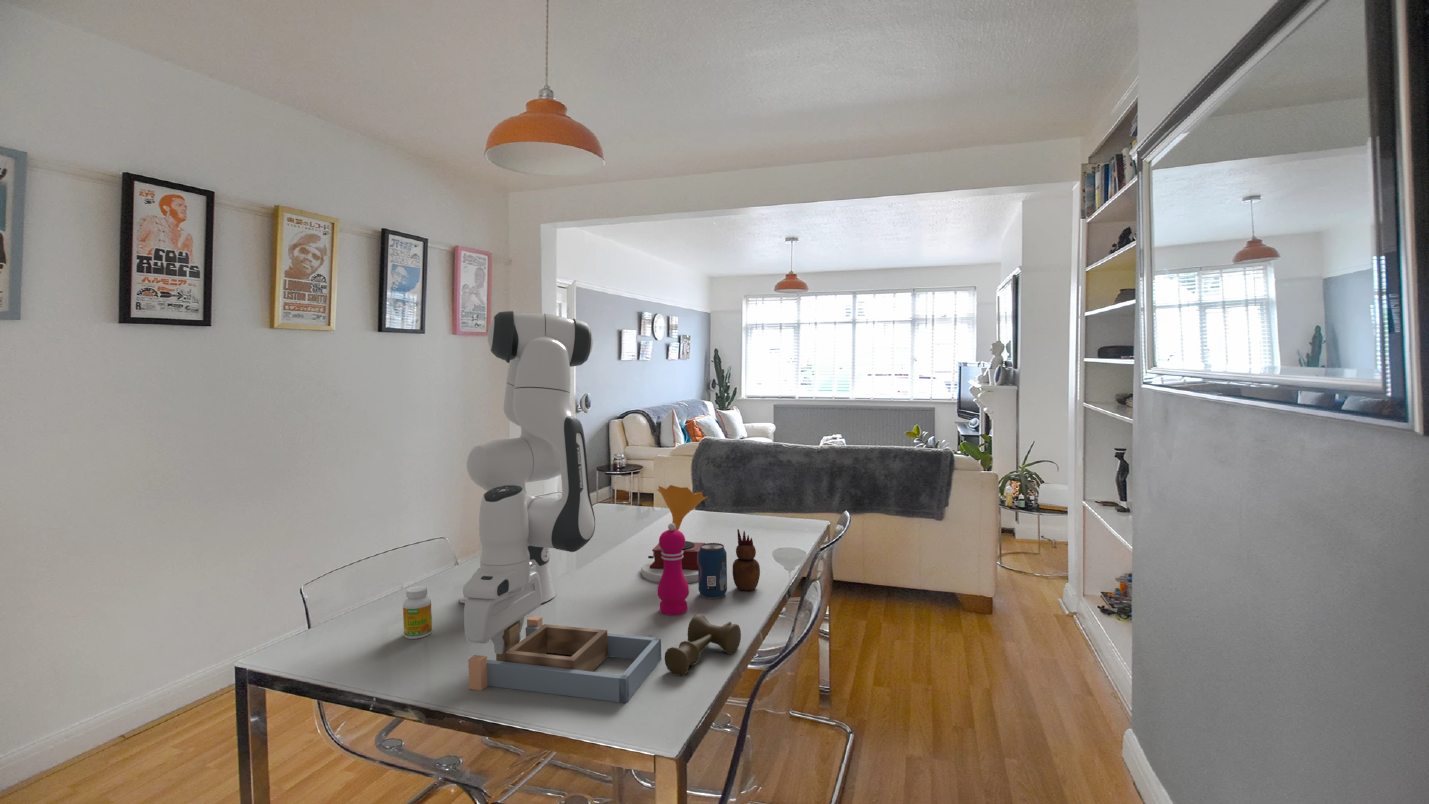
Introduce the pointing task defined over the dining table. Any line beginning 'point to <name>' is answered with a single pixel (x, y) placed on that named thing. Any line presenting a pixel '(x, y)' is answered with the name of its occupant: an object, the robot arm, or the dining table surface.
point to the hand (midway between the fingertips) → (507, 647)
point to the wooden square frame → (556, 647)
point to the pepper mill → (672, 573)
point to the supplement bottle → (417, 613)
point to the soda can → (712, 570)
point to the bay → (572, 671)
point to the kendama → (701, 643)
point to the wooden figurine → (745, 565)
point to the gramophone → (679, 506)
